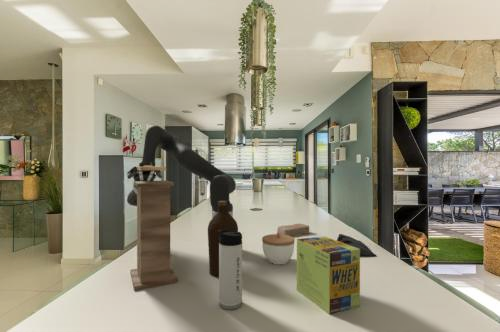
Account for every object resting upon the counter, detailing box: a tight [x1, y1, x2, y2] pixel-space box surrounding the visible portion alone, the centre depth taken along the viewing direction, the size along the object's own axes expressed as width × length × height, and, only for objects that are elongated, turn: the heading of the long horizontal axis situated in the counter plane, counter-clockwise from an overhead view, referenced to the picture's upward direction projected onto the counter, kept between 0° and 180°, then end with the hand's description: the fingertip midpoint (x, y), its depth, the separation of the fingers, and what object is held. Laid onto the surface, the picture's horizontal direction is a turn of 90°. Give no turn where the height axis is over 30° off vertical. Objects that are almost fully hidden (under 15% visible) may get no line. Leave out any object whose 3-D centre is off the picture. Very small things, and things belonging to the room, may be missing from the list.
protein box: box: [296, 236, 361, 315], centre depth 78 cm, size 10×15×16 cm
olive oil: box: [207, 201, 239, 278], centre depth 97 cm, size 11×11×25 cm
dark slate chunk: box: [336, 233, 377, 257], centre depth 124 cm, size 15×22×5 cm
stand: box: [130, 180, 179, 292], centre depth 92 cm, size 15×13×32 cm
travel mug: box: [218, 230, 243, 311], centre depth 74 cm, size 6×7×20 cm
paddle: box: [136, 166, 167, 171], centre depth 101 cm, size 21×8×2 cm, turn 28°
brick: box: [276, 223, 310, 237], centre depth 151 cm, size 17×8×5 cm, turn 118°
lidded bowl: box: [261, 232, 296, 265], centre depth 108 cm, size 13×13×11 cm
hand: (147, 163), depth 104 cm, fingers closed on paddle, 3 cm apart
